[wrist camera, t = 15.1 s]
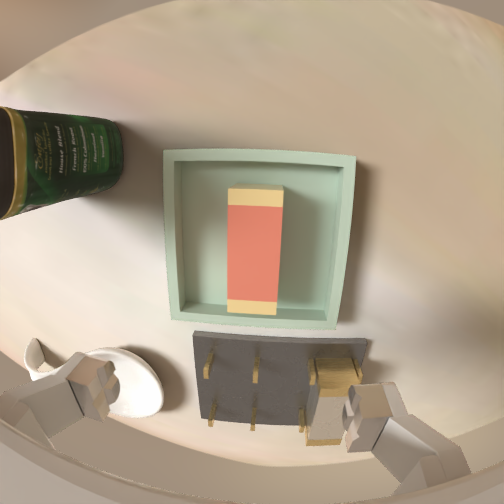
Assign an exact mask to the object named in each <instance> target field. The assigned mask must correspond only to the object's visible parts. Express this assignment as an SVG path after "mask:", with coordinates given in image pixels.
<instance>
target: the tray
mask: <svg viewBox="0 0 504 504" xmlns="http://www.w3.org/2000/svg"><path fill="white" fill-rule="evenodd" d="M355 168H356V156H349V155H340V154H329V153H318V152H305V151H289V150H268V149H174V150H163V204H164V232H165V251H166V267H167V280H168V292H169V303H170V313H171V320H179V321H189V322H199V323H210V324H221V325H234V326H249V327H265V328H285V329H315V330H336V325H337V319H338V314H339V308H340V302H341V296H342V289H343V283H344V276H345V269H346V262H347V254H348V246H349V237H350V228H351V219H352V208H353V197H354V184H355ZM236 183H250V184H274V185H282V187H283V190H284V194H283V214H282V232H281V250H280V266H279V281H278V295H277V309H276V315H263V314H246V313H232V312H227V221H228V188H230V187H231V186H233V185H234V184H236Z"/></svg>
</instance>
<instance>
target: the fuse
mask: <svg viewBox="0 0 504 504" xmlns="http://www.w3.org/2000/svg"><path fill="white" fill-rule="evenodd" d="M283 194H284V190H283V187H282V185H274V184H250V183H236V184H234V185H233V186H231V187H230V188H228V221H227V312H232V313H246V314H263V315H276V309H277V295H278V281H279V266H280V250H281V232H282V214H283Z"/></svg>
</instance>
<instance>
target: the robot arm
mask: <svg viewBox="0 0 504 504" xmlns="http://www.w3.org/2000/svg"><path fill="white" fill-rule="evenodd" d="M115 370H116V369H115V366H114V363H113V362H112V361H110V360H107V359H103V358H99V357H96V356H92V355H88V354H84V353H81V352H76V353H75V354H74V355H73V356H72V357H71V358H70V359H69V360H68V361H67V362H66V363H65V364H64V365H63V366H62V368H61V369H60V370H59V371H58V372H57V373H56V374H55V375H49V376H46V377H43V378H40V379H38V380H35V381H32V382H30V383H27V384H24V385H21V386H18V387H16V388H13V389H10V390H7V391H4V392H3V394H2V395H1V396H0V504H253V503H241V502H231V501H224V500H216V499H209V498H204V497H198V496H192V495H187V494H182V493H177V492H173V491H169V490H164V489H160V488H156V487H153V486H149V485H145V484H142V483H138V482H135V481H132V480H129V479H126V478H122V477H120V476H116V475H114V474H111V473H108V472H105V471H103V470H100V469H97V468H95V467H92V466H90V465H87V464H85V463H83V462H80V461H78V460H75V459H73V458H71V457H69V456H67V455H65V454H63V453H60V452H58V451H56V450H55V448H54V446H53V445H52V443H51V442H50V440H49V438H50V437H52V436H54V435H56V434H57V433H59V432H60V431H62V430H64V429H66V428H67V427H69V426H71V425H72V424H74V423H76V422H77V421H79V420H81V419H82V418H84V416H85V417H88V418H91V419H94V420H97V421H101V422H103V421H104V420H105V418H106V417H107V415H108V413H109V412H110V406H109V405H111V404H113V403H115V402H116V400H117V398H118V397H119V392H120V383H119V379H118V378H117V377H116V375H115V374H114V371H115ZM348 396H349V400H347V401H346V402H345V404H344V407H343V413H342V423H343V428H344V429H345V430H346V431H347V434H346V436H345V441H346V447H347V453H349V452H366V451H372V453H373V454H374V456H375V457H376V458H377V459H378V460H379V461H380V462H381V463H382V464H383V465H384V466H385V467H386V468H387V469H388V470H389V471H390V472H391V473H392V474H393V476H394V477H396V479H397V480H398V481H399V482H400V483H401V484H400V486H399V487H398V488H397V489H396V490H395V491H394V493H393V494H392V495H391V496H389V497H384V498H378V499H371V500H364V501H356V502H347V503H335V504H504V460H503V461H501V462H499V463H497V464H495V465H492V466H490V467H488V468H485V469H483V470H480V471H478V472H475V473H471V471H470V468H469V466H468V464H467V461H466V459H465V457H464V455H463V452H462V450H461V448H460V446H458V445H456V444H455V443H454V442H452V441H451V440H449V439H448V438H446V437H445V436H443V435H442V434H440V433H439V432H437V431H436V430H434V429H433V428H431V427H430V426H428V425H427V424H426V423H424V422H423V421H421V420H420V419H418V418H417V417H415V416H414V415H413V414H411V415H408V412H407V410H406V408H405V405H404V403H403V400H402V398H401V396H400V393H399V391H398V389H397V386H396V384H395V383H394V382H388V383H380V384H378V383H377V384H359V385H351V386H350V388H349V391H348Z"/></svg>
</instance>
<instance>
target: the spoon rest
mask: <svg viewBox="0 0 504 504" xmlns="http://www.w3.org/2000/svg"><path fill="white" fill-rule="evenodd" d="M84 354H88V355H92V356H96V357H99V358H103V359H107V360H110V361H112V362H113V363H114V366H115V369H116V370H115V371H114V374H115V375H116V377H117V378H118V379H119V383H120V392H119V397H118V398H117V400H116V402H115V403H113V404H111V405H109V406H110V412H109V413H112V414H116V415H120V416H124V417H130V418H145V417H150V416H153V415H154V414H156V413H157V412H159V411H160V409H161V408H162V406H163V403H164V391H163V387H162V384H161V382H160V380H159V378H158V376H157V375H156V373H155V372H154V370H153V369H152V368H151V367H150V366H149V365H148V363H146V362H145V361H144V360H143V359H142V358H140V357H139V356H137V355H136V354H134V353H132V352H129V351H127V350H123V349H119V348H112V347H106V348H99V349H95V350H92V351H89V352H87V353H84ZM44 361H45V358H44V354H43V352H42V350H41V347H40V344H39V342H38V340H37V339H35V338H33V339H32V340H31V341H30V342H29V343H28V345H27V347H26V350H25V353H24V362H25V365H26V367H27V369H28V370H29V372H30V376H31V378H32V380H33V381H35V380H38V379H40V378H43V377H46V376H49V375H55V374H56V373H57V372H58V371H59V370H60V369H61V368H62V366H63V365H62V366H61V367H59V368H56V369H54V370H51V371H48V372H41V371H38V370H37V369H38V368H39V367H40V366H41V365H42V364H43V363H44Z"/></svg>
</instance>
